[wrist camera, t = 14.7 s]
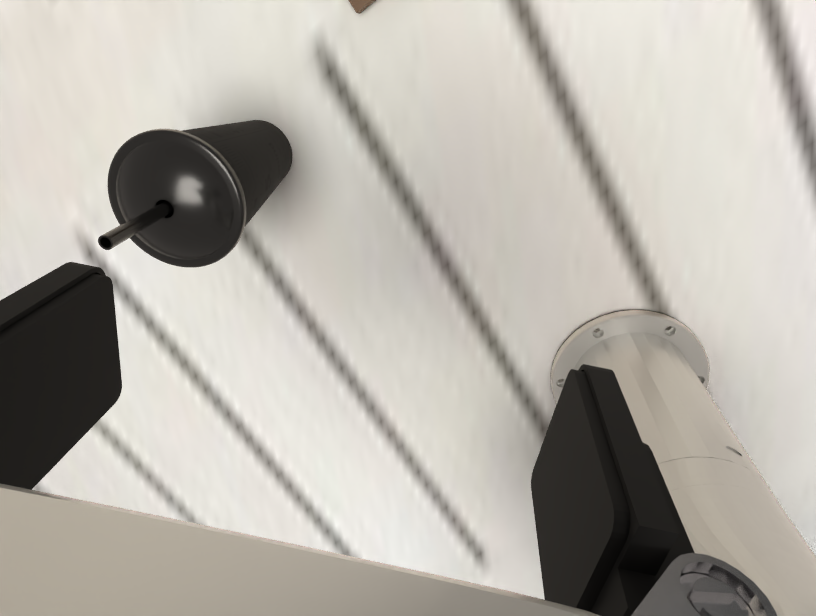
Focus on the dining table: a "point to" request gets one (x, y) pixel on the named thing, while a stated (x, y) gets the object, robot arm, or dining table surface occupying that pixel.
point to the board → (360, 4)
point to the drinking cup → (193, 188)
